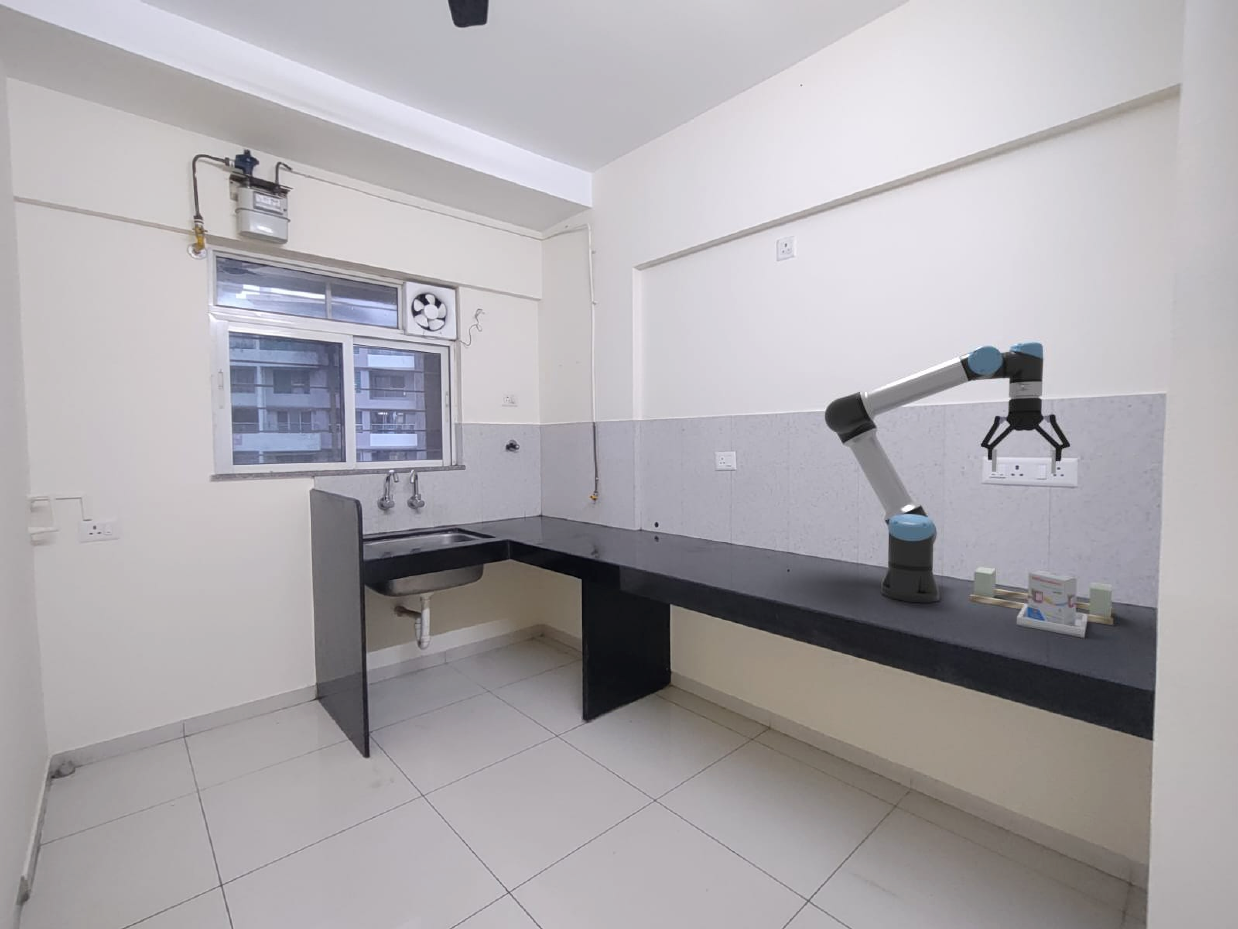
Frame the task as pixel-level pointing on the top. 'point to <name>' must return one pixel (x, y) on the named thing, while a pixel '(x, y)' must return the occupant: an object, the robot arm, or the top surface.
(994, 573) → the block
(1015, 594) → the rail rack
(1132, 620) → the top surface
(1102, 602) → the block
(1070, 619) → the ink box
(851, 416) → the robot arm
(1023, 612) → the tray
